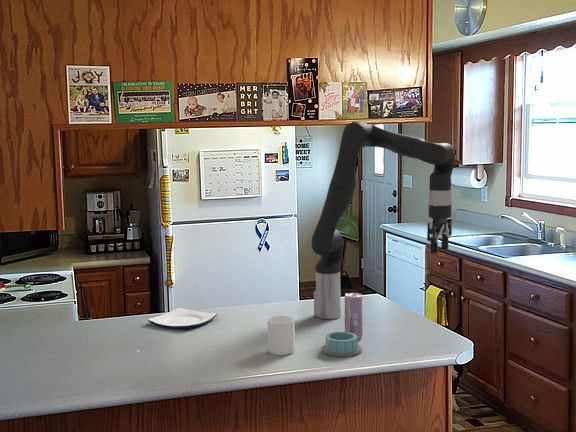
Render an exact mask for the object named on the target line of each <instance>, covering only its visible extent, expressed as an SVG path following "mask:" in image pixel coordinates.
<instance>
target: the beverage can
mask: <svg viewBox="0 0 576 432" xmlns="http://www.w3.org/2000/svg"><path fill="white" fill-rule="evenodd" d="M344 332H349V333H354V334H356V335H357V341H359V340H361V339H362V338H363V296H362V293H359V292H348V293H345V294H344Z"/></svg>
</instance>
